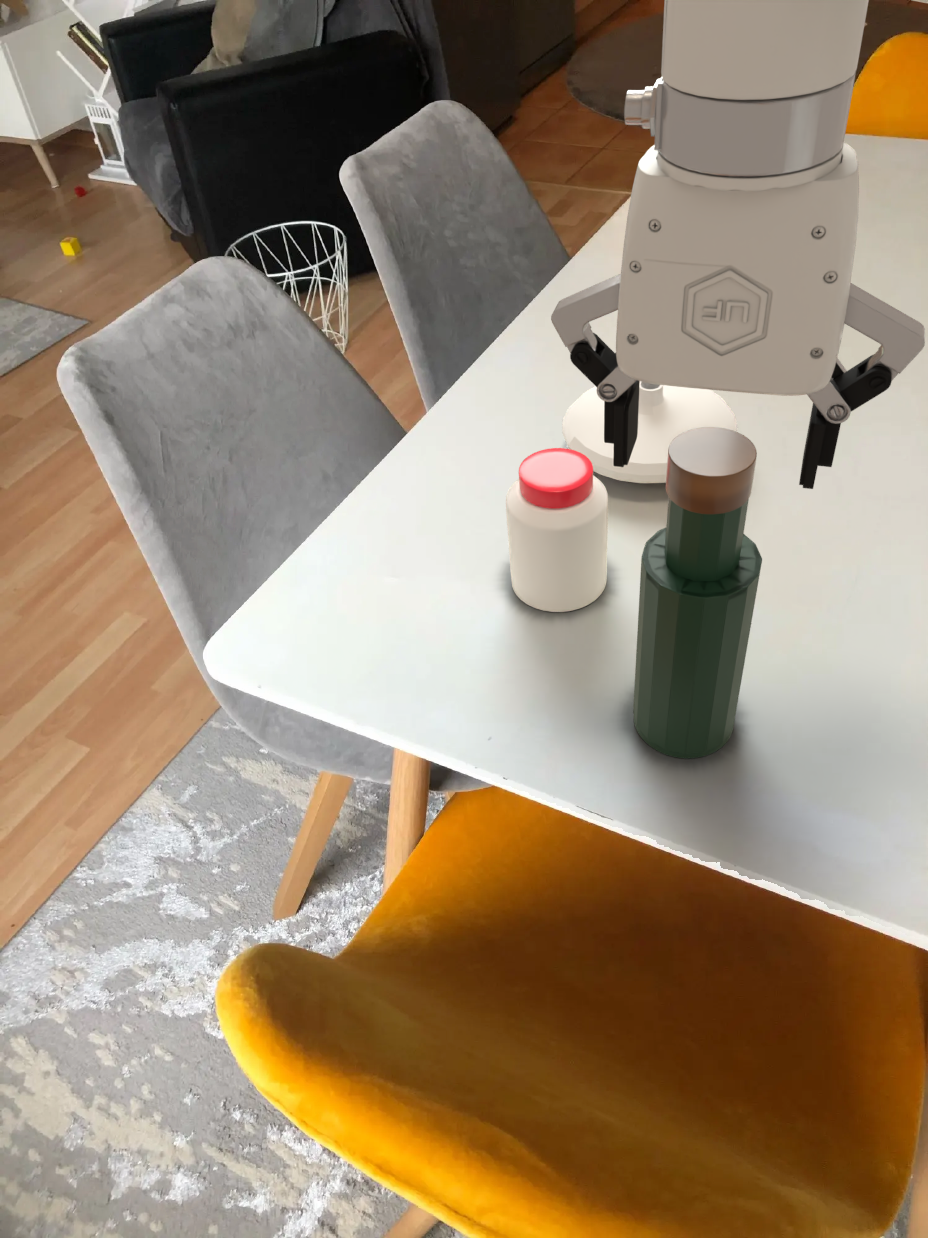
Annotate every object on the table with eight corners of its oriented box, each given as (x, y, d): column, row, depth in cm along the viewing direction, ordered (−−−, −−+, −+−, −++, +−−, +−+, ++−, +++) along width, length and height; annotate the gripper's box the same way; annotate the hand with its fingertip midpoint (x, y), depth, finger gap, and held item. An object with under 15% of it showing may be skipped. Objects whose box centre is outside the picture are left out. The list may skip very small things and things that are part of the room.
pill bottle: (577, 625, 74) (576, 513, 67) (493, 592, 78) (483, 482, 70) (623, 566, 79) (627, 455, 71) (542, 537, 82) (537, 429, 74)
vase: (705, 519, 82) (712, 450, 77) (535, 481, 88) (532, 415, 83) (753, 421, 91) (763, 354, 86) (598, 392, 97) (598, 328, 92)
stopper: (758, 558, 55) (775, 457, 50) (692, 587, 54) (702, 487, 49) (709, 516, 58) (720, 417, 53) (645, 542, 57) (651, 444, 52)
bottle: (754, 733, 65) (800, 500, 51) (671, 774, 64) (695, 544, 50) (694, 669, 70) (721, 439, 56) (614, 706, 68) (622, 478, 54)
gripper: (524, 150, 40) (540, 485, 52) (985, 159, 35) (884, 527, 47) (569, 91, 45) (573, 409, 56) (978, 91, 40) (888, 440, 51)
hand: (714, 462), depth 52 cm, fingers open, 9 cm apart
